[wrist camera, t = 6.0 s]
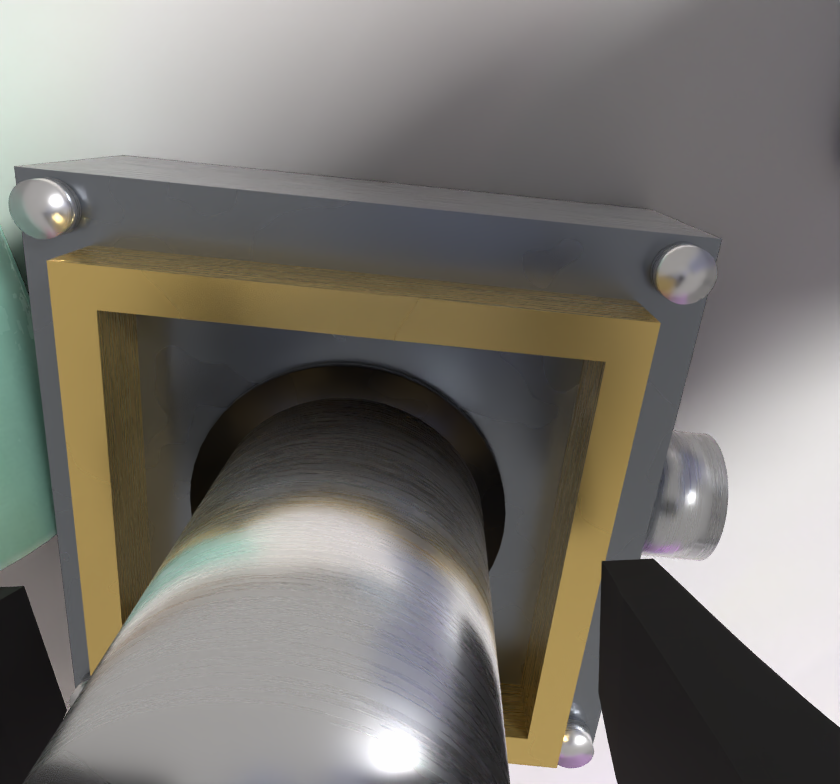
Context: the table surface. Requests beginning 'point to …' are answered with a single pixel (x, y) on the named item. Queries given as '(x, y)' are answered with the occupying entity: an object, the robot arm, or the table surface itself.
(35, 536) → the mint green cylinder
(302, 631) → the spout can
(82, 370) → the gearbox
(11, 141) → the table surface
